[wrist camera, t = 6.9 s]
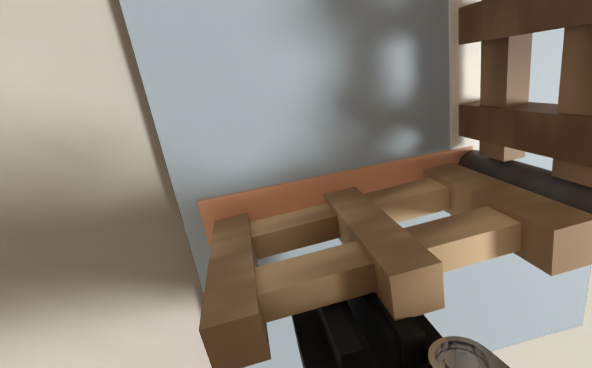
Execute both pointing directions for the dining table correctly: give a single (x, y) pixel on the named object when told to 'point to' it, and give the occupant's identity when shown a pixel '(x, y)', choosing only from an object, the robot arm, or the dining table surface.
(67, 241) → the dining table surface
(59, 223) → the dining table surface
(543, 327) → the card
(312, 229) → the fence fold
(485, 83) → the fence fixed
